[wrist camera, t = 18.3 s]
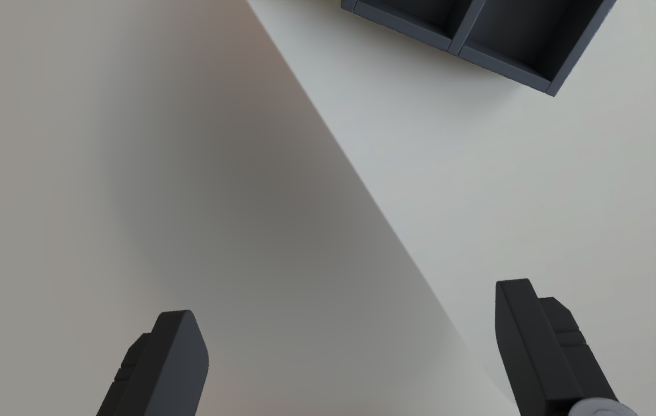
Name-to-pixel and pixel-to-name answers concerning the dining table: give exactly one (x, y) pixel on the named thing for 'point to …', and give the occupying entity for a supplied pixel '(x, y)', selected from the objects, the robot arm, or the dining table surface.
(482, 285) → the dining table surface
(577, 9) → the divided storage tray
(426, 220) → the dining table surface
